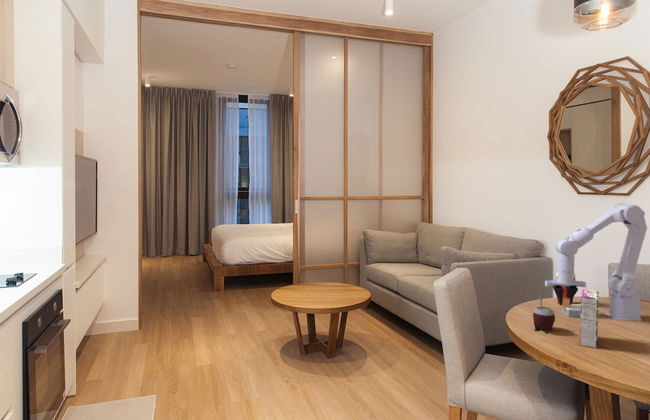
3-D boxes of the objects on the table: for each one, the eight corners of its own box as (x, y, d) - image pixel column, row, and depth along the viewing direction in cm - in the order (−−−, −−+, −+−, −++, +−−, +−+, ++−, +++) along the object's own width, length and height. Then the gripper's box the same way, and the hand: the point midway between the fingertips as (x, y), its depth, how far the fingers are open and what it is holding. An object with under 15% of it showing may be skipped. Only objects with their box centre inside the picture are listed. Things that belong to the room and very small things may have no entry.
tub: (582, 313, 175) (582, 306, 175) (590, 318, 169) (590, 311, 169) (561, 312, 176) (561, 305, 176) (568, 318, 170) (568, 310, 170)
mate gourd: (549, 327, 160) (550, 287, 159) (559, 335, 152) (560, 292, 151) (528, 327, 160) (529, 286, 159) (537, 334, 152) (538, 292, 151)
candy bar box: (580, 335, 152) (582, 288, 151) (597, 337, 149) (599, 290, 148) (579, 345, 143) (580, 296, 141) (597, 348, 140) (599, 298, 139)
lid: (583, 307, 176) (583, 295, 175) (591, 312, 169) (592, 300, 168) (557, 306, 177) (557, 295, 176) (564, 311, 170) (565, 299, 169)
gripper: (580, 268, 175) (579, 302, 176) (542, 268, 177) (541, 301, 178) (589, 272, 168) (587, 307, 169) (549, 271, 170) (548, 306, 171)
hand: (564, 304), depth 173 cm, fingers closed on lid, 3 cm apart
